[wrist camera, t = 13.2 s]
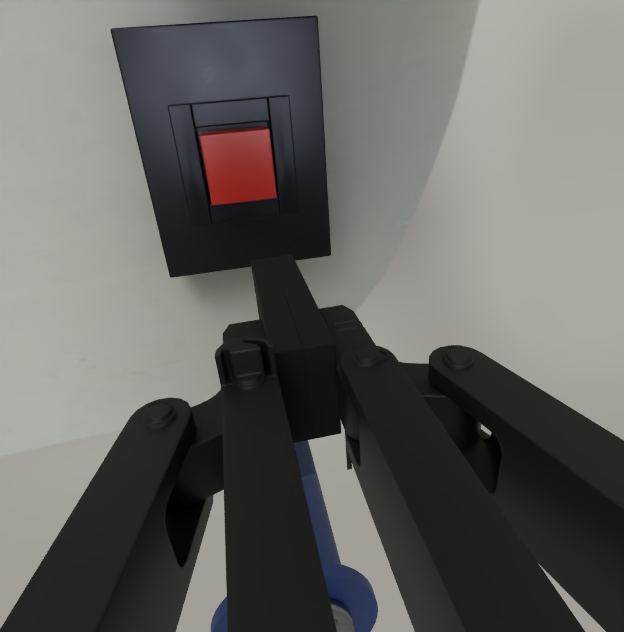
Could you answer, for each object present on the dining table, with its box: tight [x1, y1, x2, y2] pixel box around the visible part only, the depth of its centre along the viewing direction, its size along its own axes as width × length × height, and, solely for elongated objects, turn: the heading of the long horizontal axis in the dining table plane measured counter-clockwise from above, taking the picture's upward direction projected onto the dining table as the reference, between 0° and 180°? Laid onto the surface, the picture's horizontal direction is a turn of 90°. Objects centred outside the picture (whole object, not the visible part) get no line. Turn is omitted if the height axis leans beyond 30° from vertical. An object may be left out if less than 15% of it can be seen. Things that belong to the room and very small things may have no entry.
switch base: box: [111, 16, 331, 277], centre depth 27 cm, size 14×11×5 cm
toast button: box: [200, 126, 277, 205], centre depth 25 cm, size 4×4×2 cm
